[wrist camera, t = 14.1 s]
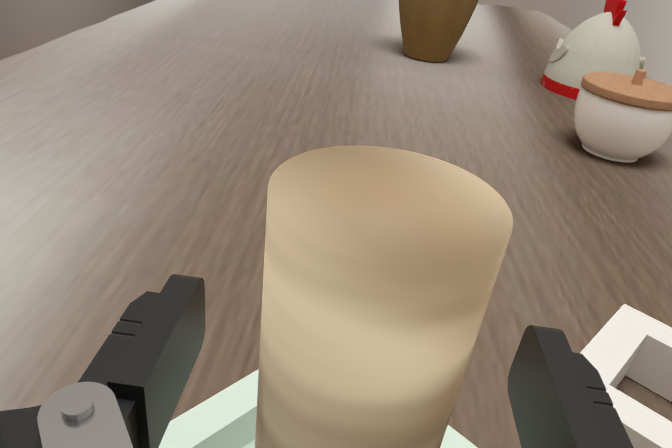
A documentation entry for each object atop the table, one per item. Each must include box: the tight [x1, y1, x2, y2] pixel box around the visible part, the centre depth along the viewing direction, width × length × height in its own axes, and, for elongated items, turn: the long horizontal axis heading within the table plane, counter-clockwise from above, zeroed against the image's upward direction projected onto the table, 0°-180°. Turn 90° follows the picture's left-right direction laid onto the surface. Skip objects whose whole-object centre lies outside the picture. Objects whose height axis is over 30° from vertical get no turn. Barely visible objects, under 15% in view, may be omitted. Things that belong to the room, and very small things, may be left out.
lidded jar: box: [574, 69, 672, 163], centre depth 59 cm, size 11×11×9 cm
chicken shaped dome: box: [541, 0, 645, 100], centre depth 81 cm, size 14×14×15 cm
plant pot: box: [399, 0, 478, 62], centre depth 89 cm, size 15×15×16 cm
